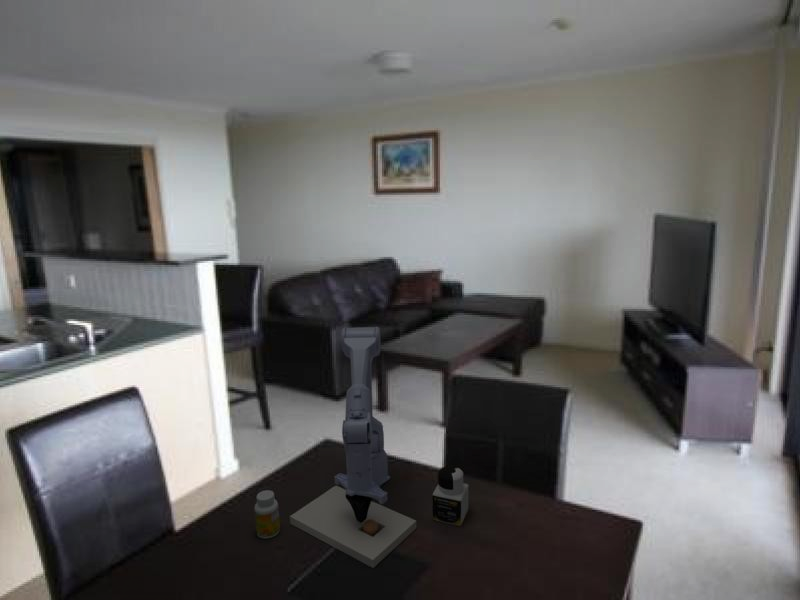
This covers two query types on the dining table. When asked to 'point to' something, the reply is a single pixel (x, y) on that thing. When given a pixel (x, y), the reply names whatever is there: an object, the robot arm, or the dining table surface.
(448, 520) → the medicine bottle
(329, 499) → the white flat board
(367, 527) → the ball
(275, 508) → the supplement bottle
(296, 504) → the dining table surface
